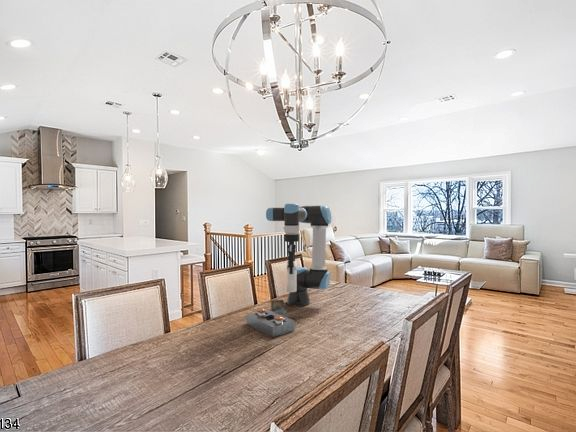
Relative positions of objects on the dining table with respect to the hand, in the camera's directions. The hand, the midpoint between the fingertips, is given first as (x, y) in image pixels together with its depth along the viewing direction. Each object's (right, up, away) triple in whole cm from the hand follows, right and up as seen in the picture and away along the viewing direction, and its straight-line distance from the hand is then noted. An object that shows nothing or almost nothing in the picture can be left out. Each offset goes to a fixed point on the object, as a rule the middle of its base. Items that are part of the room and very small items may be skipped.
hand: (291, 278), depth 164 cm
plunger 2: (-7, -26, -1) cm, 27 cm away
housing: (-12, -27, +5) cm, 29 cm away
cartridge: (0, -6, 0) cm, 6 cm away
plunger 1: (-17, -26, +11) cm, 33 cm away
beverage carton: (-7, -27, +25) cm, 38 cm away
